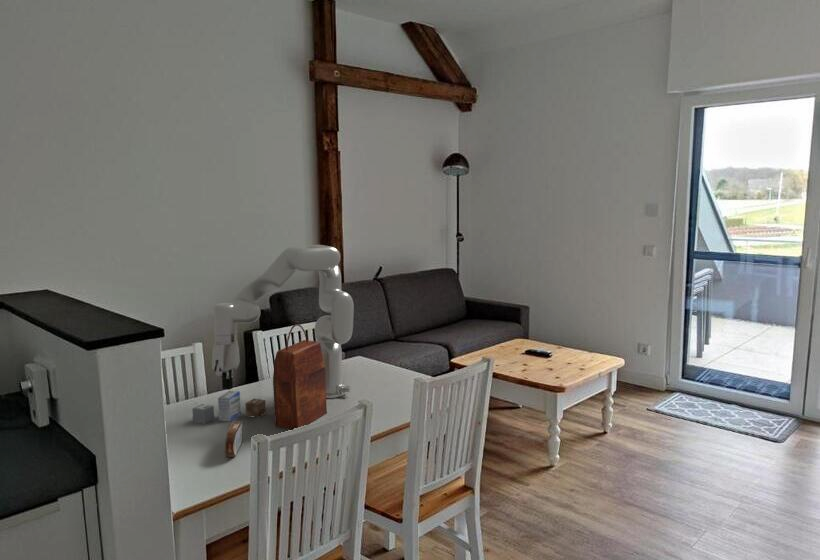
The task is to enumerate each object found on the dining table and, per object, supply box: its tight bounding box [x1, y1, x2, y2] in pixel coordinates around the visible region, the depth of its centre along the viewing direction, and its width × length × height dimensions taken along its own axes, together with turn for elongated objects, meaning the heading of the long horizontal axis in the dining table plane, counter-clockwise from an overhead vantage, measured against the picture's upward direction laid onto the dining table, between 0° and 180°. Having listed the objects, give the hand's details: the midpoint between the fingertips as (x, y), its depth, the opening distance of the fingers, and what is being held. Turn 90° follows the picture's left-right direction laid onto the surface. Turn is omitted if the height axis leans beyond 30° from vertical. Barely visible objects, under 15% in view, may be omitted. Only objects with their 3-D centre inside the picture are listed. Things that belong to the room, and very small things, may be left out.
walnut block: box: [245, 398, 267, 418], centre depth 213 cm, size 5×5×5 cm
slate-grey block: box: [192, 403, 215, 425], centre depth 208 cm, size 5×5×5 cm
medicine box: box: [217, 390, 242, 422], centre depth 210 cm, size 8×4×9 cm, turn 168°
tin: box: [224, 420, 244, 458], centre depth 182 cm, size 15×3×8 cm, turn 5°
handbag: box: [272, 323, 328, 430], centre depth 206 cm, size 10×19×35 cm, turn 155°
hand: (227, 388), depth 209 cm, fingers closed
